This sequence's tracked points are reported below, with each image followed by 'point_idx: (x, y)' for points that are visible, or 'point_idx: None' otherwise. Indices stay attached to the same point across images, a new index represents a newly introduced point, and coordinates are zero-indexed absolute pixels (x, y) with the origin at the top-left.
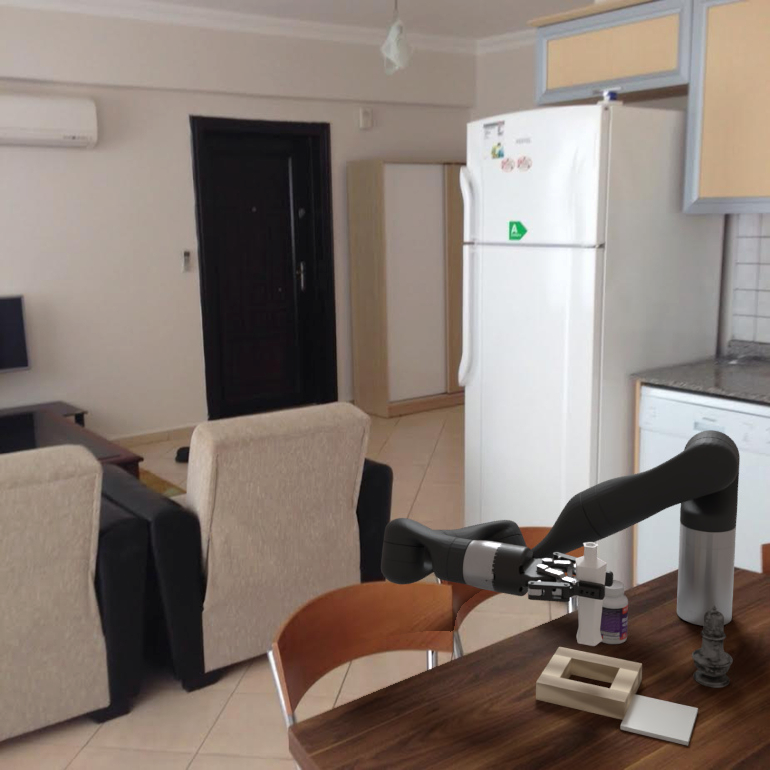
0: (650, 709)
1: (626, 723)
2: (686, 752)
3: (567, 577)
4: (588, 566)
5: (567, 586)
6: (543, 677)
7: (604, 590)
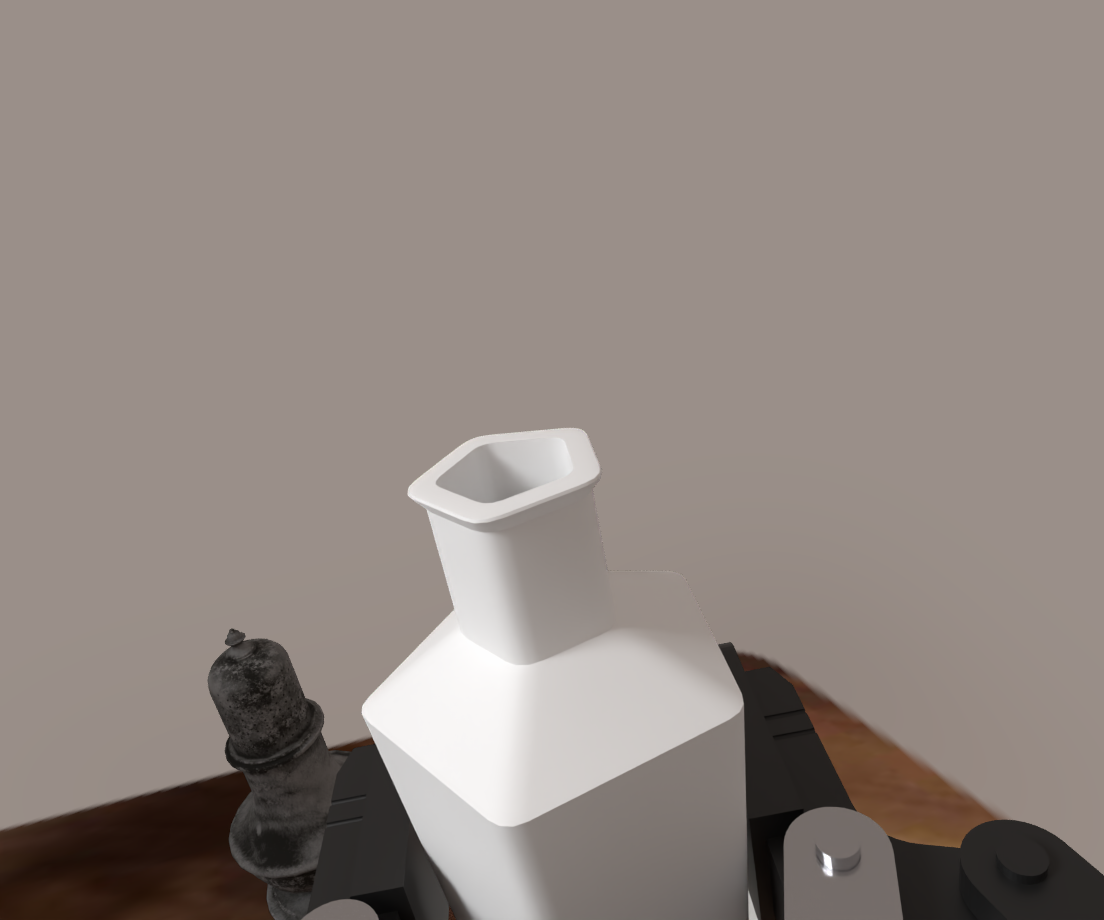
0: None
1: None
2: (859, 777)
3: None
4: (693, 618)
5: (1039, 832)
6: None
7: None
